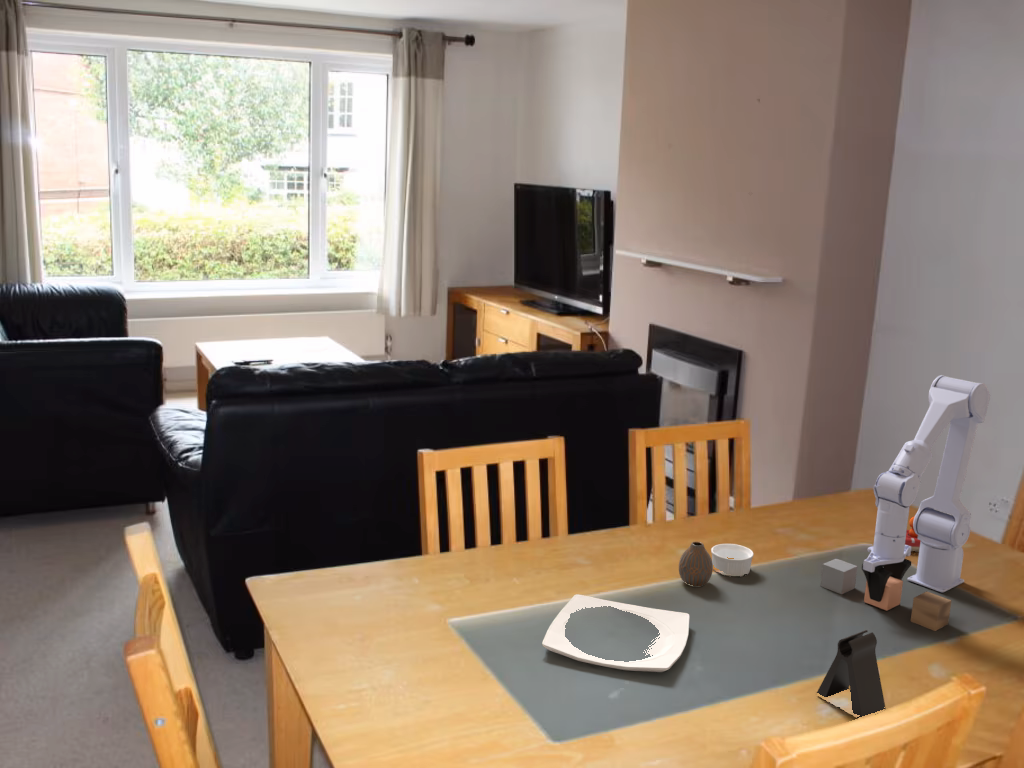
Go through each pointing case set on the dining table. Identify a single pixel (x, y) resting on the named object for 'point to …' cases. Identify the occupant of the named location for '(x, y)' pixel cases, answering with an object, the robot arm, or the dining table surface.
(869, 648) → the phone stand
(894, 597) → the terracotta block
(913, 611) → the walnut block
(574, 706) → the dining table surface
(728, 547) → the ramekin
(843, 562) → the slate block
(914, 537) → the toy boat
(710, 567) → the vase
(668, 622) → the plate
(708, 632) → the dining table surface
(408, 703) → the dining table surface
